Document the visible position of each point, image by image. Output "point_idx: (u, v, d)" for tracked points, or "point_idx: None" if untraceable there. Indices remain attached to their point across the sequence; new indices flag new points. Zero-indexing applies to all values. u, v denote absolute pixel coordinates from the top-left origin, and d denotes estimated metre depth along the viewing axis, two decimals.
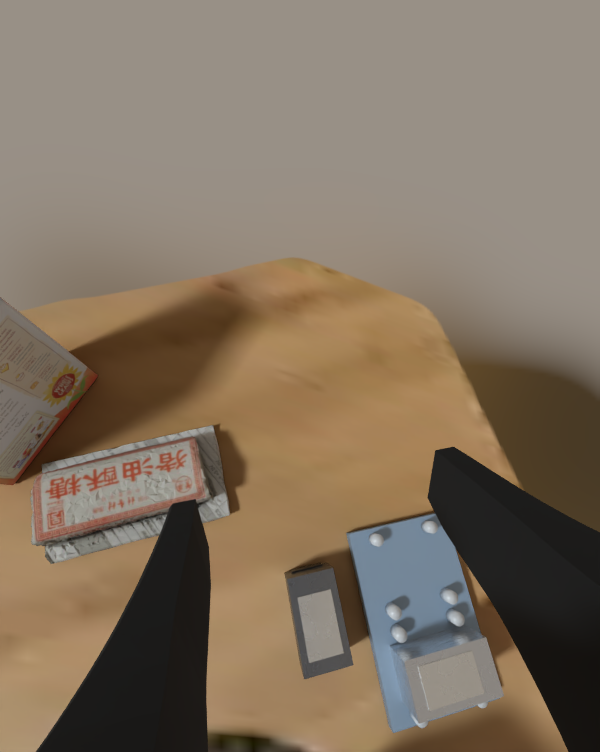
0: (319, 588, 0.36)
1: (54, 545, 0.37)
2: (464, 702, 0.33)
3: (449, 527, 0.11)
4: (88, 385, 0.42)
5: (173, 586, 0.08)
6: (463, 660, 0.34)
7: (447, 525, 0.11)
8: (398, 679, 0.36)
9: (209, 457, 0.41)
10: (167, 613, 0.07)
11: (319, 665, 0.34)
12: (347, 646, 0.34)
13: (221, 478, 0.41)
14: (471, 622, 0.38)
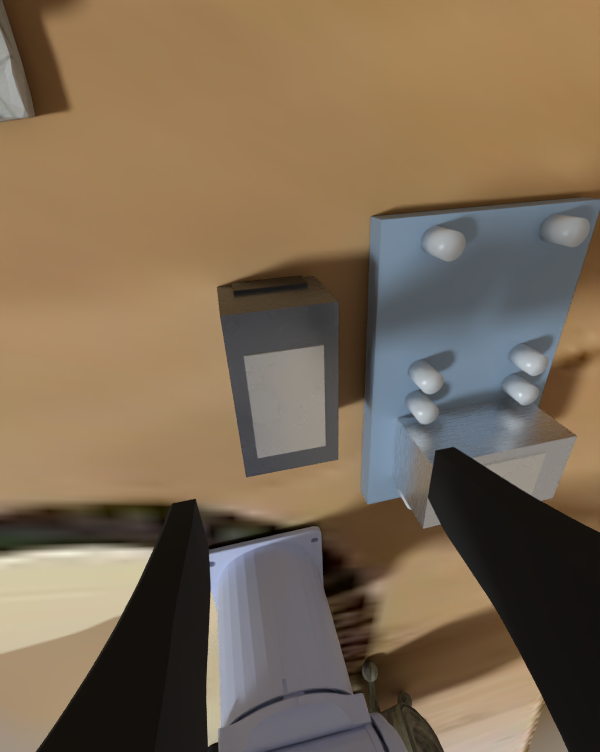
0: (297, 342, 0.15)
1: None
2: None
3: (449, 527, 0.11)
4: None
5: (173, 586, 0.08)
6: (525, 463, 0.19)
7: (447, 525, 0.11)
8: (397, 458, 0.22)
9: None
10: (167, 613, 0.07)
11: (276, 460, 0.18)
12: (334, 436, 0.18)
13: None
14: None
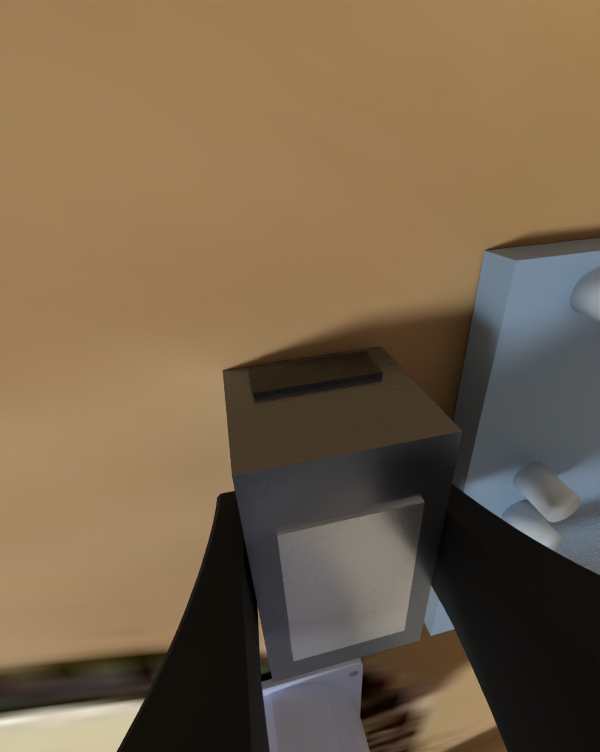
0: (376, 500, 0.08)
1: None
2: None
3: None
4: None
5: (236, 571, 0.08)
6: None
7: None
8: None
9: None
10: (235, 596, 0.07)
11: (324, 656, 0.11)
12: (419, 615, 0.11)
13: None
14: None
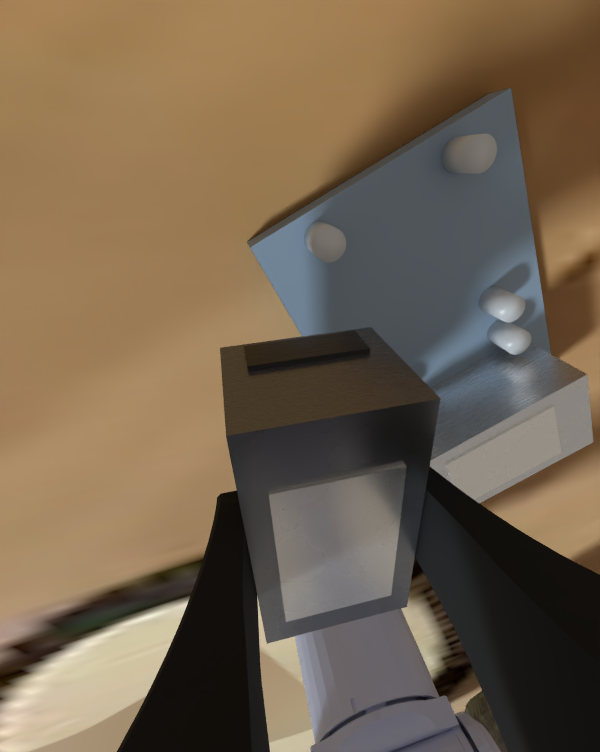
0: (362, 464, 0.08)
1: None
2: (523, 474, 0.18)
3: None
4: None
5: (236, 571, 0.08)
6: (533, 424, 0.17)
7: None
8: None
9: None
10: (235, 596, 0.07)
11: (315, 618, 0.11)
12: (405, 580, 0.11)
13: None
14: (534, 328, 0.19)
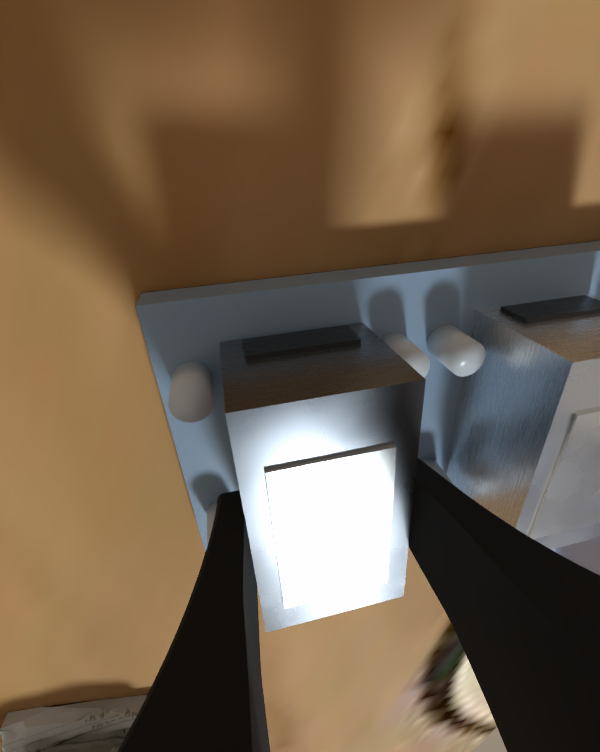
0: (353, 444, 0.09)
1: None
2: None
3: (409, 537, 0.11)
4: None
5: (236, 571, 0.08)
6: (580, 439, 0.11)
7: None
8: None
9: (74, 729, 0.21)
10: (235, 596, 0.07)
11: (313, 606, 0.11)
12: (400, 567, 0.12)
13: (123, 717, 0.21)
14: (480, 284, 0.12)
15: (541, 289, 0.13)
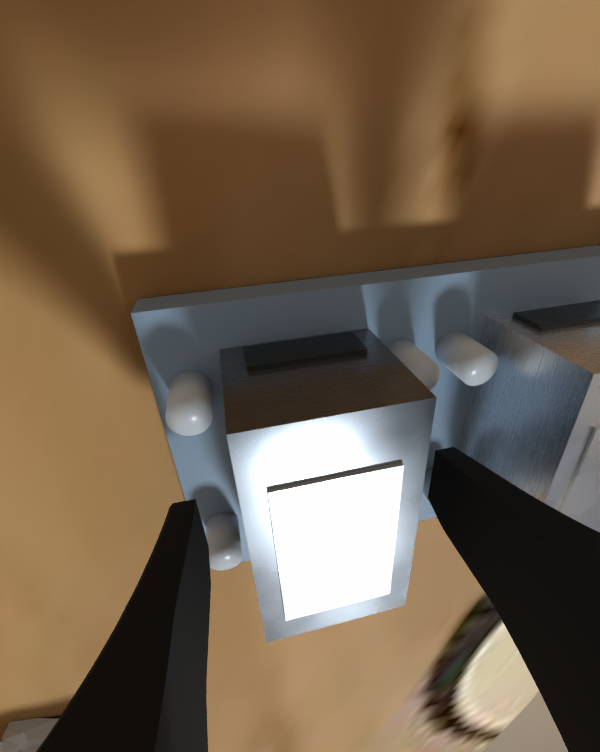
0: (359, 462, 0.09)
1: None
2: None
3: (449, 527, 0.11)
4: None
5: (173, 586, 0.08)
6: (598, 452, 0.10)
7: (447, 525, 0.11)
8: None
9: None
10: (167, 613, 0.07)
11: (314, 617, 0.11)
12: (403, 579, 0.11)
13: None
14: (492, 289, 0.12)
15: (554, 294, 0.12)
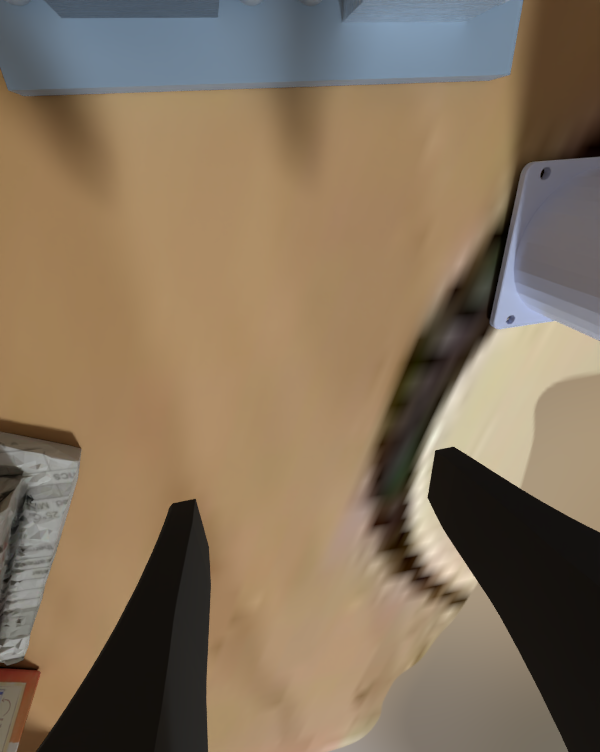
0: None
1: None
2: None
3: (449, 527, 0.11)
4: None
5: (173, 586, 0.08)
6: None
7: (447, 525, 0.11)
8: (422, 17, 0.12)
9: None
10: (167, 613, 0.07)
11: None
12: None
13: None
14: None
15: None
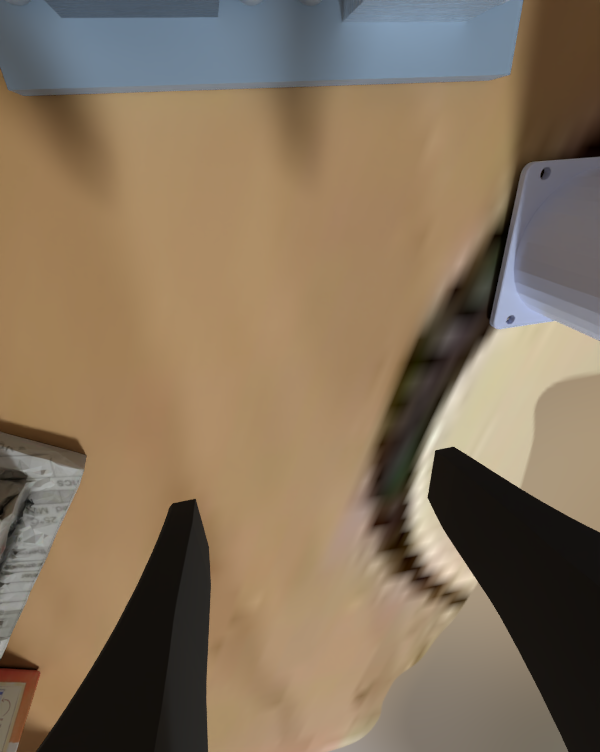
0: None
1: None
2: None
3: (449, 527, 0.11)
4: None
5: (173, 586, 0.08)
6: None
7: (447, 525, 0.11)
8: (423, 17, 0.12)
9: None
10: (167, 613, 0.07)
11: None
12: None
13: None
14: None
15: None
